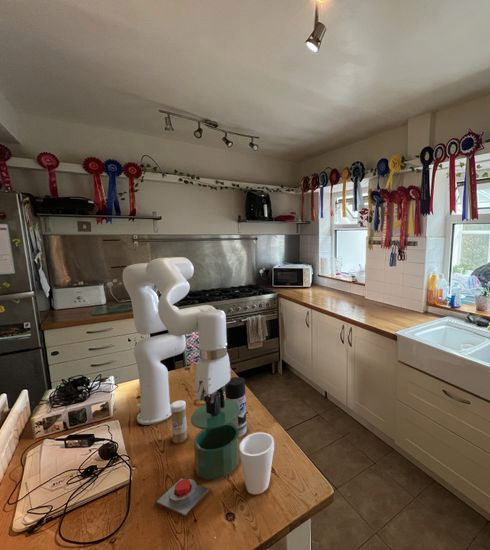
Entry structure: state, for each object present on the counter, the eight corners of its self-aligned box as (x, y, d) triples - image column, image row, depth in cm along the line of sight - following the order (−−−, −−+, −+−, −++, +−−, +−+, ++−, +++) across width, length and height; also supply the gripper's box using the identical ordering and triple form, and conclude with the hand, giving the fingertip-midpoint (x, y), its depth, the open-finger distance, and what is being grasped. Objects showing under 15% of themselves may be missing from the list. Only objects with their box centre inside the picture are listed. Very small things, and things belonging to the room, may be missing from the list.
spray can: (240, 440, 101) (239, 386, 98) (223, 437, 102) (221, 384, 99) (249, 428, 107) (248, 377, 105) (233, 425, 109) (231, 375, 106)
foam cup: (256, 505, 77) (255, 461, 75) (233, 489, 81) (232, 447, 80) (281, 480, 85) (280, 439, 83) (258, 467, 89) (258, 428, 88)
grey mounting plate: (156, 505, 76) (155, 495, 76) (181, 481, 84) (181, 472, 83) (185, 518, 73) (184, 508, 72) (209, 492, 80) (208, 483, 80)
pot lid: (180, 424, 84) (178, 401, 83) (214, 400, 97) (213, 379, 96) (217, 436, 79) (217, 411, 78) (248, 408, 92) (248, 387, 91)
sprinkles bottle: (169, 444, 98) (167, 407, 97) (176, 435, 103) (174, 399, 101) (183, 444, 99) (181, 407, 97) (189, 434, 103) (187, 399, 101)
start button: (172, 493, 77) (171, 487, 77) (183, 483, 80) (183, 477, 80) (182, 498, 76) (182, 492, 75) (193, 487, 79) (193, 481, 79)
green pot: (185, 473, 87) (184, 444, 85) (216, 445, 98) (215, 419, 97) (219, 486, 82) (218, 456, 81) (247, 455, 94) (246, 428, 93)
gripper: (222, 341, 94) (224, 394, 97) (180, 360, 79) (184, 423, 81) (241, 344, 92) (243, 398, 94) (202, 365, 77) (205, 429, 79)
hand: (215, 409), depth 88 cm, fingers closed on pot lid, 2 cm apart
